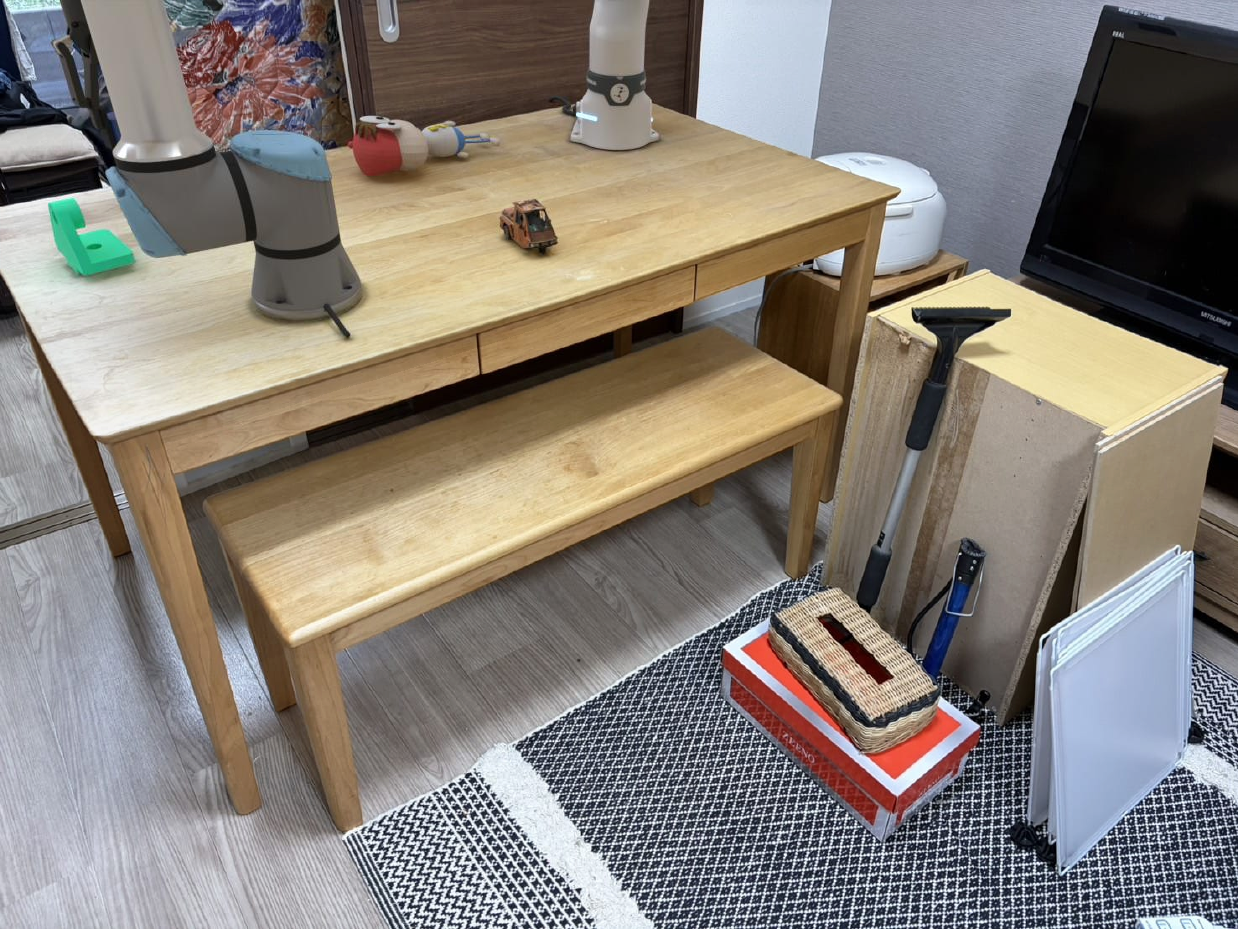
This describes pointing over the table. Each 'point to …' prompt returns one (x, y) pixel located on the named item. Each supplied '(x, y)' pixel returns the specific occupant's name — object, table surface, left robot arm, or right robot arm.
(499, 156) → the table surface
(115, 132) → the canister
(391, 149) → the toy
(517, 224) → the toy car
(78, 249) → the camera mount
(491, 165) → the table surface
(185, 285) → the table surface
